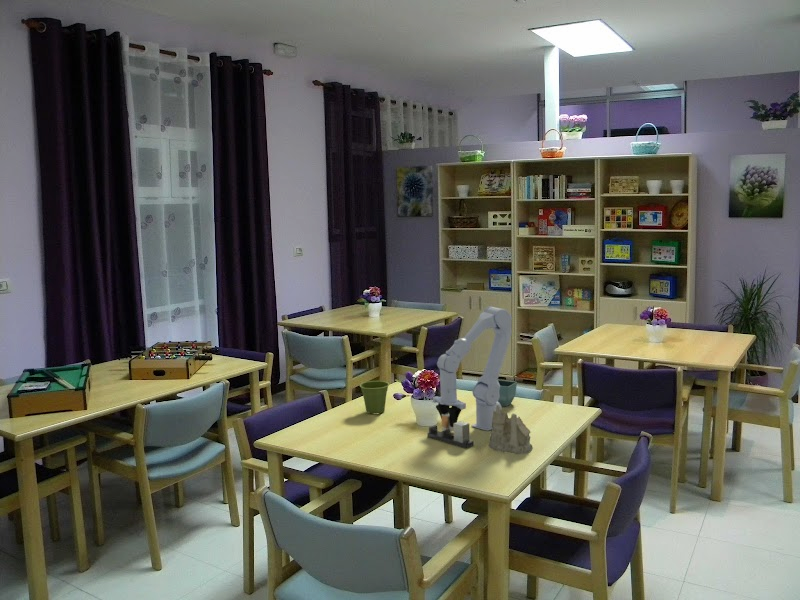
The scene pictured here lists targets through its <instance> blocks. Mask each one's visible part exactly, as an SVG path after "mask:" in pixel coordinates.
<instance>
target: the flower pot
mask: <svg viewBox="0 0 800 600" xmlns="http://www.w3.org/2000/svg"><path fill="white" fill-rule="evenodd" d="M498 382H499V384H500V389H499V394H500V396H499V400H498V402H499V403H500V404H501V407H502V406H503V407H507V406H509V405H511V404H512V403H513V400H514V399H515V397H516V392H517V386H518V385H517V384H518V382H517V381H513V380H502V379H498Z"/></svg>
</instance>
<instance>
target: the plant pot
mask: <svg viewBox="0 0 800 600" xmlns="http://www.w3.org/2000/svg"><path fill="white" fill-rule="evenodd" d="M358 386H359V387H360V389H361V393H362V395H363V401H364V405H365V411H367V412H369V413H368V414H370V413H379V414H381V413H384V412H385V408H386V400H387V392H388V389H389V386H390V383H389V382H387V381H383V380H370V381H365V382H361V383H360V384H359V385H358ZM367 412H366V413H367Z"/></svg>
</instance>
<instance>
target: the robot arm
mask: <svg viewBox="0 0 800 600" xmlns="http://www.w3.org/2000/svg"><path fill="white" fill-rule="evenodd" d="M479 314H480V315H479V316H478V319H477V320H476V321H475V322H474V324H473V325H472V327H471V328H470V329H469V330H468V332H466V334H465V336H464V337H461V338H460V337H459V338H458V339H455V340H454V342H453V345H452V346H451V347H450V348H449V349H447V350H446V351H445V353H443V354H441V355H440V356H439V357H438V359H437V362H436V366H437V368H438V369H439V373H440V374H439V377H440V379H439V382H440V383H439V385H440V386H439V387H440V396H437V395H436V396H433V397H431V398H432V403H435V404H436V403H438V404H436V405H435V409H436V410H437V412H438V414H439V417H440V419H441V421H442V418H441V416H442V414H443V413H446V412H449V415H450V424H451V427H453V424H454V423H457V422H458V419H459V416H460V414H461V412H462V411H463V410H464V409H465V410H466V408H467V405H466V404H467V403H466V402H463V401H462V400H459V399H458V398H457V396H458V394H457V393H458V391H457V388H458V387H457V370H459V368H460V363H461V361H462V360H463V359H464V358H465V357H466V355H467V354H468V353H469V352H470V351H471V350H472V344H473V342H475V341H476V339H478V338H479V337H480V336H481V335H482V334H483V333H484V332H485V331H486V330H489V329H492V330H493V332H494V334H495V335H494V339H493V342H492V346H491V348H490V352H489V355H488V359H487V362H486V364H485V368H484V371H483V374H482V375H481V376H480V377H479V378H478V379H477V382H476V384H475V385H474V386H473V388H472V396H473V397H474V398H475V402H476V403H475V405H476V407H475V408H476V409H475V410H476V411H475V413H476V416H475V417H476V419H475V421H476V422H475V423H473V424H471V425H470V426H471V427H473V428H476V429H478V430H479V429H480V430H483V431H490V430H493V428H492V418H493V411H496V406H497V405H499V406H500V408H501V409H502V406H501V404H500V403H499V402H498V400H499V396H500V394H499V389H500V384H499V382H498V380H499V376H500V374H501V369H502V368H503V367H502V366H503V363H504V360H505V357H506V353H507V350H508V348H509V344H510V341H511V337H512V334H513V332H512V320H513V316H512V315H511V313H510V312H509V311H508V310H507V309H505V308H499V307H495V306H492V305H489V306H487V307H486V308H484V310H483V311H482V312H480V313H479ZM502 410H503V409H502Z"/></svg>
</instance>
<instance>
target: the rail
mask: <svg viewBox="0 0 800 600" xmlns="http://www.w3.org/2000/svg"><path fill="white" fill-rule="evenodd" d="M452 432H453V434H451V432H450V429H447V430H444V431H443V430H441V431H438V425H435V424H434V425H433V426H429V427H428V432H427V438H430V439H432V440H433V439H434V440H436V441H440V442H442V443H443V442H444V443H445V444H450V445H452V446H456V447H460V448H463V449H468V448H471V447H473V446H474V440H471V439H470V435H471V434H470V433H471V432H470V422H465V421H461V420H460V421H457V423H454V424H453V431H452Z"/></svg>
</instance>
